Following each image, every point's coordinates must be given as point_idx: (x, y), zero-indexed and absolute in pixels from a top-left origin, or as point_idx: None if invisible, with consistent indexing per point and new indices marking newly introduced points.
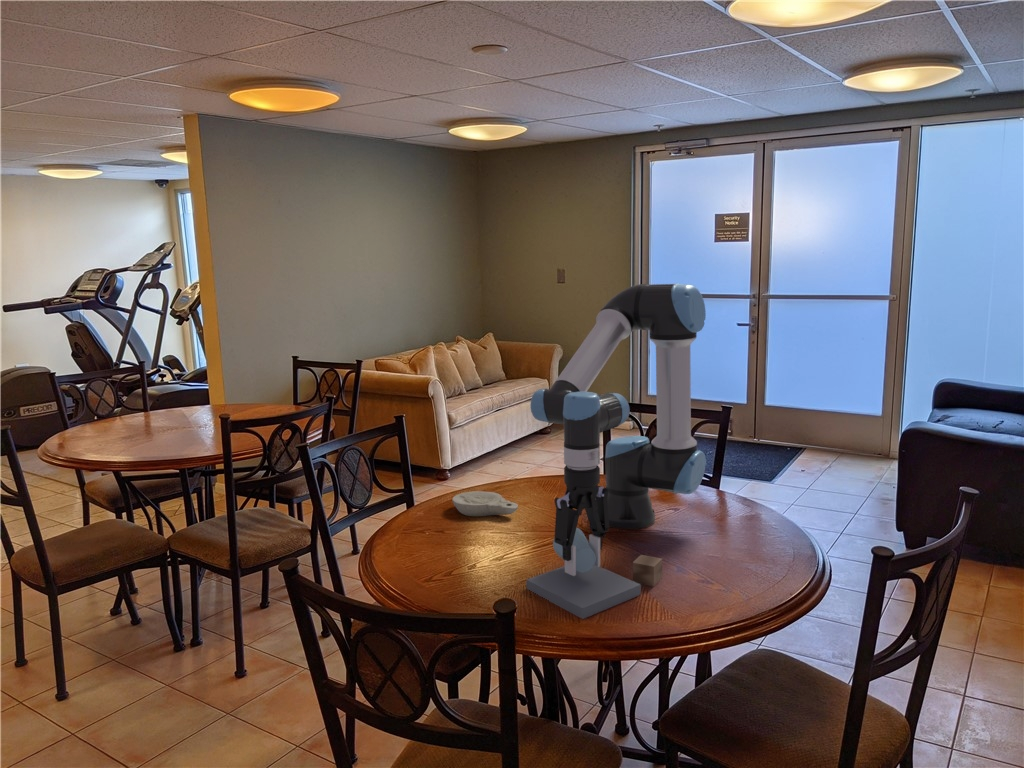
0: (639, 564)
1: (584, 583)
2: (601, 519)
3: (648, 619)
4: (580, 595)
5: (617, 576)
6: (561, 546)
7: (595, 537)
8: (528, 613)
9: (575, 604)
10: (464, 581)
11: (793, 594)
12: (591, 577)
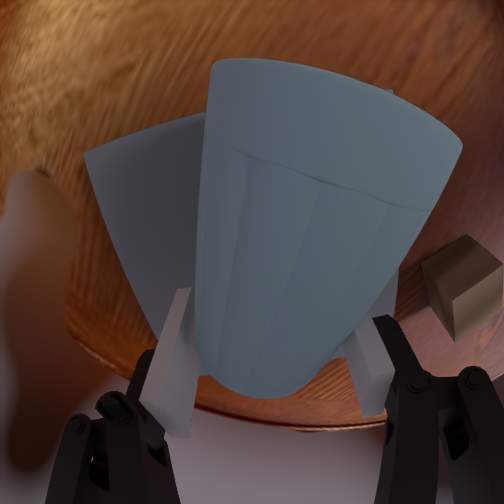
0: (452, 313)
1: None
2: (459, 465)
3: (307, 394)
4: None
5: (386, 285)
6: (200, 216)
7: (366, 408)
8: (77, 276)
9: None
10: (6, 42)
11: (496, 376)
12: None
